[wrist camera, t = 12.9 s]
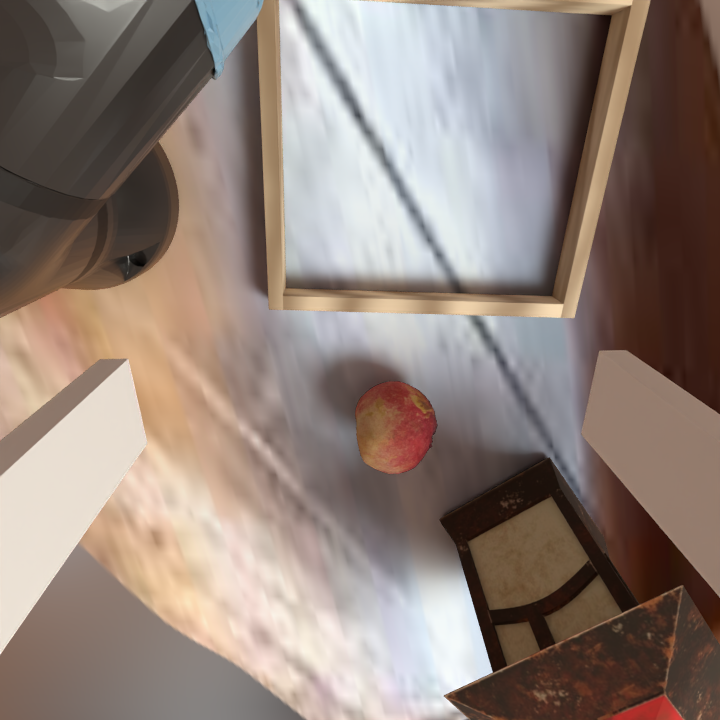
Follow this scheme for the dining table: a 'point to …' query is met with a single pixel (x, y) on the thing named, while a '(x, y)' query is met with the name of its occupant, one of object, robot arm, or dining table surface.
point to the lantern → (572, 617)
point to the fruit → (394, 427)
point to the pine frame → (619, 58)
